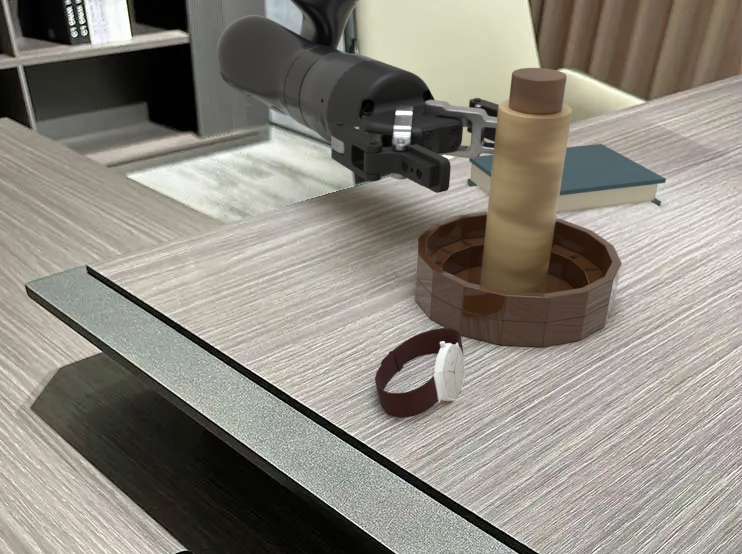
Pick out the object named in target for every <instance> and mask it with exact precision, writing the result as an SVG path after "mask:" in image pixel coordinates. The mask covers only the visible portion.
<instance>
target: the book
mask: <svg viewBox="0 0 742 554" xmlns="http://www.w3.org/2000/svg"><path fill="white" fill-rule="evenodd" d="M468 162H469V163H471V164H470V175H469V178H467V179H466V180H467V181H466V183H467V184H468V185H469V186H470V187H479V188H480V189H481V190H483V191H484V192H485V193H486V194H488V195H489V192H490V182H491V173H492V163H493V154H486V155H480V156H479V157H478V158H475V159H473V158H468ZM666 181H667V178H665V177H664V176H662V175H660V174H658V173H656V172H654V171H653V170H651V169H650V168H647V167H645V166H644V165H641V164H640V163H638V162H636V161H634V160H632V159H630V158H629V157H627V156H625V155H624V154H621V153H619V152H617V151H616V150H614V149H612V148H610V147H608V146H606V145H604V144H602V143H595V144H586V145H576V146H575V145H574V146H567V149H566V155H565V162H564V168H563V175H562V182H561V188H560V195H559V202H558V208H557V213H565V212H572V211H580V210H588V209H589V210H590V209H597V208H604V207H612V206H620V205H628V204H636V203H644V202H651V203H652V204H654V205H656V206H658V207H660V206H661V203H662V201H661V200H660V199H658V198H656V195H657V189H658V185H659V184H665V183H666Z"/></svg>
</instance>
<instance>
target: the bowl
mask: <svg viewBox="0 0 742 554" xmlns="http://www.w3.org/2000/svg"><path fill="white" fill-rule="evenodd" d="M486 221H487V211H480V212H472V213H462V214H457V215H454V216H451V217H449V218H445V219H443V220H440V221H438V222H437V221H436V222H435V223H432V224H431V225H430V226H429V227H428V228H427V229H426V230H425V231H423V232H422V234H420V235H419V236H418V237H417V245H416V247H417V248H416V265H415V282H414V284H415V285H414V299H415V300H414V301H415V302H416V303H417V304H418V306H419V307H420V309H422V311H423V312H424V313H425V314H426V315H427V317H428V318H429V319H430V320H432V321H433V322H436V323H438V324H439V325H442V326H443V327H444V328H451V329H455V330H457V331H458V332H459V333H460V334H461V336H464V337H466V338H472V339H475V340H479V341H483V342H487V343H491V344H494V345H498V346H499V345H501V346H519V347H537V348H545V347H550V346H557V345H561V344H567V343H575V342H579V341H581V340H583V339H585V338H587V337H588V336H591V335H592V334H594V333H596V332H597V331H600V330H601V329H603V328H604V327H606V324H607V321H608V320H609V318H610V316H611V314H612V311H613V309H614V304H615V300H616V294H617V289H618V284H619V279H620V274H621V269H622V265H623V264H622V263H623V262H622V261H621V258H620V256H619V255H618V252H617V250H616V247H615V246H614V245H613V244H612V243H610V242H609V241H607V240H606V239H605V238H603V237H602V236H601V235H599V234H598V233H596V232H595V231H594V230H591V229H589V228H587V227H584V226H581V225H578V224H575V223H573V222H571V221H568V220H565V219H561V218H559V217H558V218H557V217H556V222H555V228H554V235H553V242H552V248H551V255H550V262H549V268H548V275H547V282H546V288H545V293H529V292H507V291H503V290H499V289H494V288H490V287H486V286H481V285H480V279H481V269H482V259H483V250H484V240H485V230H486Z"/></svg>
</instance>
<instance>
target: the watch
mask: <svg viewBox="0 0 742 554" xmlns="http://www.w3.org/2000/svg"><path fill="white" fill-rule="evenodd" d="M434 354H436V356H435V357H436V358H435V363H434V369H433V374H432V376H431V378H429V380H427V381H426V382H425V383H424V384H422V385H421V386H418V387H417V388H414V389H411V390H408V391H405V392H389V391H386V390H385V389H386V387H387V385H388V384H389V383H390V382H391V380H392V379H393V378H394V377H395V376H396V374H398V373H400V372H401V371H402V370H403V369H404V365H406V364H407V363H409V362H411V361H413V360H415V359H417V358H420V357H423V356H426V355H434ZM465 366H466V365H465V358H464V347H463V342H462V335H461V334H460V333H459V332H458V331H457V330H455V329H451V328H447V327H441V328H435V329H430V330H426V331H423V332H420V333H418V334H416V335H414V336H412V337H410V338H408V339H407V340H405V341H403V342H402V343H401V344H399V345H398V346H396V347H394V348H393V349H392V350H390V351H389V352H388V354H387V355H386V356H384V357H383V358H382V360H381V362H380V366H379V367H378V369H377V371H376V373H375V375H374V383H375V387H376V392H377V396H378V400H379V403H380V406H381V408H382V409H383V411H384V412H385V413H386V414H387V415H388V416H390V417H393V418H399V419H406V418H412V417H416V416H418V415H421V414H424V413H425V412H427V411H428V410H430V409H431V408H433V407H434V406H435V405H436V404H437V403H438V404H440V403H441V401H443V402H451V401H456V399H457V398H458V397H459V395H460V394H461V391H463V388H464V384H465V376H466V368H465Z"/></svg>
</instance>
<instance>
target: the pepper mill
mask: <svg viewBox="0 0 742 554" xmlns="http://www.w3.org/2000/svg"><path fill="white" fill-rule="evenodd" d="M567 76H568V75H567V74H566V73H564V72H563V71H561V70H557V69H552V68H544V67H522V68H518V69H514V70H512V73H511V80H510V86H509V87H510V89H509V97H508V99H507V100H504V101H502V102H500V103H499V104H498V105H499V106H498V115H497V124H496V134H495V142H494V143H495V144H494V153H493V154H492V155H493V163H492V173H491V182H490V192H489V194H488V202H487V211H486V212H487V221H486V230H485V240H484V250H483V259H482V269H481V279H480V285H481V286H486V287H490V288H494V289H499V290H503V291H507V292H529V293H545V288H546V282H547V275H548V268H549V262H550V255H551V248H552V242H553V235H554V228H555V222H556V218H557V216H558V212H557V208H558V202H559V195H560V188H561V182H562V175H563V168H564V162H565V155H566V149H567V147H568V143H569V142H568V140H569V134H570V128H571V122H572V114H573V109H572V108H571V107H570V106H569V105H567V104H566V103H564V100H565V99H564V98H565V91H566V85H567Z"/></svg>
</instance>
